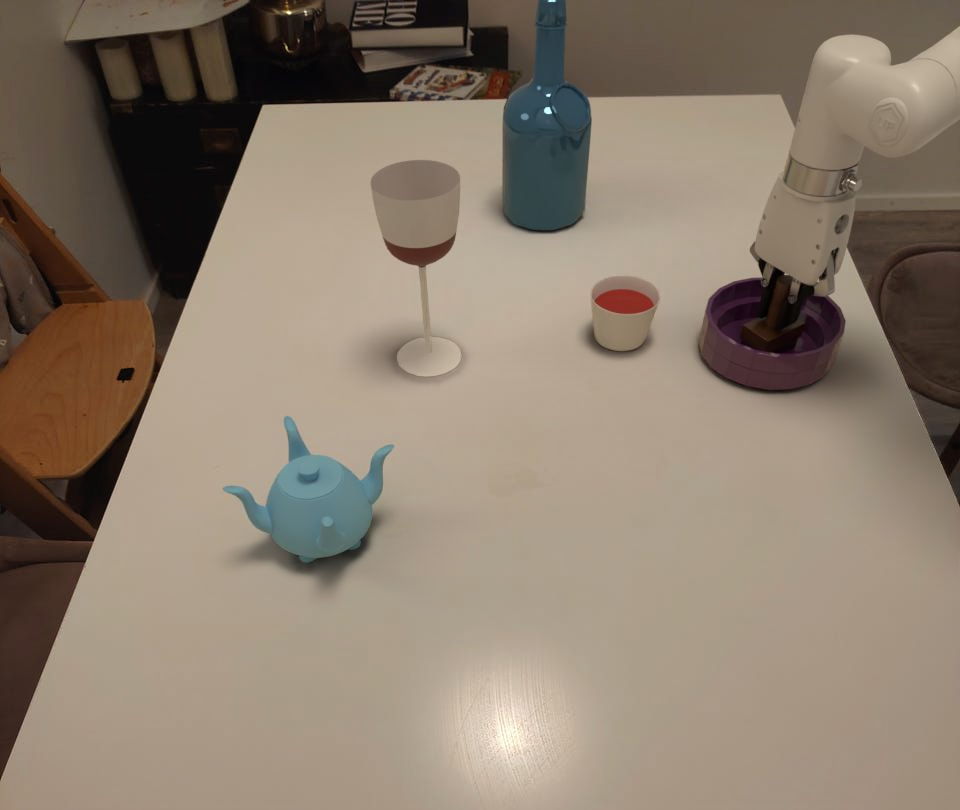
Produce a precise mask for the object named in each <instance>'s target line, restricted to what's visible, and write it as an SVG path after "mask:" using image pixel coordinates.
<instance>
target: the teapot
mask: <svg viewBox="0 0 960 810" xmlns="http://www.w3.org/2000/svg"><path fill="white" fill-rule="evenodd" d="M283 425H284V429H285V432H286V436H287V443H288V462H287V463H286V464H285V465H284V466H283V467H282V468H281V469H280V471H279V472H278V473H277V474H276V477H275V479H274V481H273V482H272V484H271V486H270V488H269V491H268V494H267V497H266V503H265V505H262V504H259V503H257V502H256V500H255V499H254V496H253V494H252V493H251V492H250V490H249V489H247V488H246V487H243V486H240V485H226V486H223V487H222V491H223V492H225V493H227V494H231V495H232V496H235V497H236V498H238V499H239V501H240V502H241V503H242V505H243V508H244V511H245V513H246V515H247V518H248V519H249V521H250V523H251V524H252V526H253V527H255V528H256V529H257V530H259V531H261V532H263V533H266V534H269V535H270V537H271V538H272V540H273V541H274V542H275V543H276V544H277V545H278V547H281V549H283V550H285V551H287V552H289V553H291V554H293V555H296V556H298V559H299V561H301V562H302V563H311V562H314V561H315V560H317V559H319V558H320V559H321V558H328V557H333V556H336V555H338V554H339V555H340V554H341V553H343V552H346V551H347V550H349V551H353V550H356V549H358V548H359V547H360V546H361V543H362V541H361V539H362V538H363V537H364V536H365V535H366V534H367V532H368V530H369V529H370V526H371V523H372V520H373V513H374V511H373V505H374V504H375V503H376V502H377V501H378V499H379V498H380V497H381V494H382V492H383V487H384V462H385V460H386V458H387V456H388V455H389V454H390V453H391V452H392V451H393V450H394V448H395V445H394V444H393V443H390V444H385V445H384V446H382V447H380V448H379V449H377V450H376V451H375V453H374V454H373V455H372V457H371V460H370V466H369V471H368V473H367V474H366V475H365V476H364V477H363V478H362V479H359V478H358V477H357V475H356V474H355V473H354V472H353V471H351V470H350V469H349V468H348V467H347V466H345V465H344V464H342V463H341V462H340V461H338V460H336V459H334V458H332V457H330V456H328V455H324V454H311V452H310V451H309V449H308V447H307V446H306V443H305V442H304V440H303V438H302V436H301V434H300V432H299V429H298V426H297V425H296V423H295V420H294V419H293V418H292V417H291V416H290V415H285V416H284V418H283Z"/></svg>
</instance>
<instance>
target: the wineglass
mask: <svg viewBox="0 0 960 810" xmlns="http://www.w3.org/2000/svg"><path fill="white" fill-rule="evenodd" d="M370 189H371V190H370V191H371V197H372V202H373V206H374V207H373V208H374V211H375V216H376V220H377V224H378V226H379V229H380V233H381V237H382V240H383V242H384V245H385V247H386V249H387V250H388V252H389V253H390V255H391V256H393V257H394V258H396V259H397V260H398V261H400V262H402V263H405V264H407V265H411V266H416V267H418V275H419V276H418V277H419V287H420V288H419V289H420V301H421V313H422V325H423V337H419V338H414V339H412V340H410V341H409V342H406V343H405V344H404V345H403V346H401V347H400V348H399V350H398V352H397V354H396V361H397V364H398V366H399V367H400V368H401V369H402V370H403V371H404V372H406V373H409V374H411V375H413V376H418V377H425V378H426V377H427V378H428V377H438V376H441V375H445V374H447V373H449V372H451V371H453V370H454V369H456V367H458V365H459V364H460V362H461V360H462V351H461V348H460V347H459V346H458V345H457V344H456V343H455V342H454V341H452V340H449V339H447V338H444V337H439V336H432V332H431V329H432V328H431V317H430V305H429V291H428V278H427V277H428V275H427V266H428V265H431V264H434V263H436V262H438V261H439V260H442V258H444V257H445V256H446V255H447V254H449V252H450V251H451V250H452V248H453V246H454V244H455V241H456V236H457V230H458V223H459V216H460V205H461V204H460V203H461V201H460V200H461V175H460V173H459V171H458V170H457V169H456V168H454V167H453V166H452V165H450V164H447V163H445V162H441V161H437V160H430V159H411V160H410V159H409V160H404V161H399V162H395V163H392V164H389V165H387V166H384V167H382V168H380V169H379V170H377V171H376V172H375V173H374V174H373V175H372V177H371V179H370Z"/></svg>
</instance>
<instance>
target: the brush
mask: <svg viewBox="0 0 960 810" xmlns="http://www.w3.org/2000/svg"><path fill="white" fill-rule="evenodd" d="M792 280H793V277H791V276H790V275H788V274H784V275H781V276H779V277H778V278H777V281H776V285H775V288H774V292H773V295H772V299H771V302H770V306H769V309H768V313H767V316H766V317H765V318H761V319H760V318H759V317H758V318H756V319H754V320H752V321H750V322H748V323H746V324H744V325H743V327H742V331H741V335H740V339H741V343H740V344H741V345H744V346H747V347H749V348H752V349H755V350H759V351H765V352H770V353H776V354H781V353H783V352H785V351H787V350H789V349H791V348H793V347H795V346H796V343H797V340H798V337H801V335H802V332H803V329H804V326H805V322H803V321H802V320H800V319H799V318H798V320H797V321H796V322H795V323H794V324H792V325H790V326H788V327H786V328H784V329H782V330H780V331H779V330H778V329H776V322H777V319H778V316H779V312H780V309H781V305H782V302H783V301H784V300H785V299H787V298H788V295H789V292H790V288H791V284H792Z"/></svg>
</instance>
